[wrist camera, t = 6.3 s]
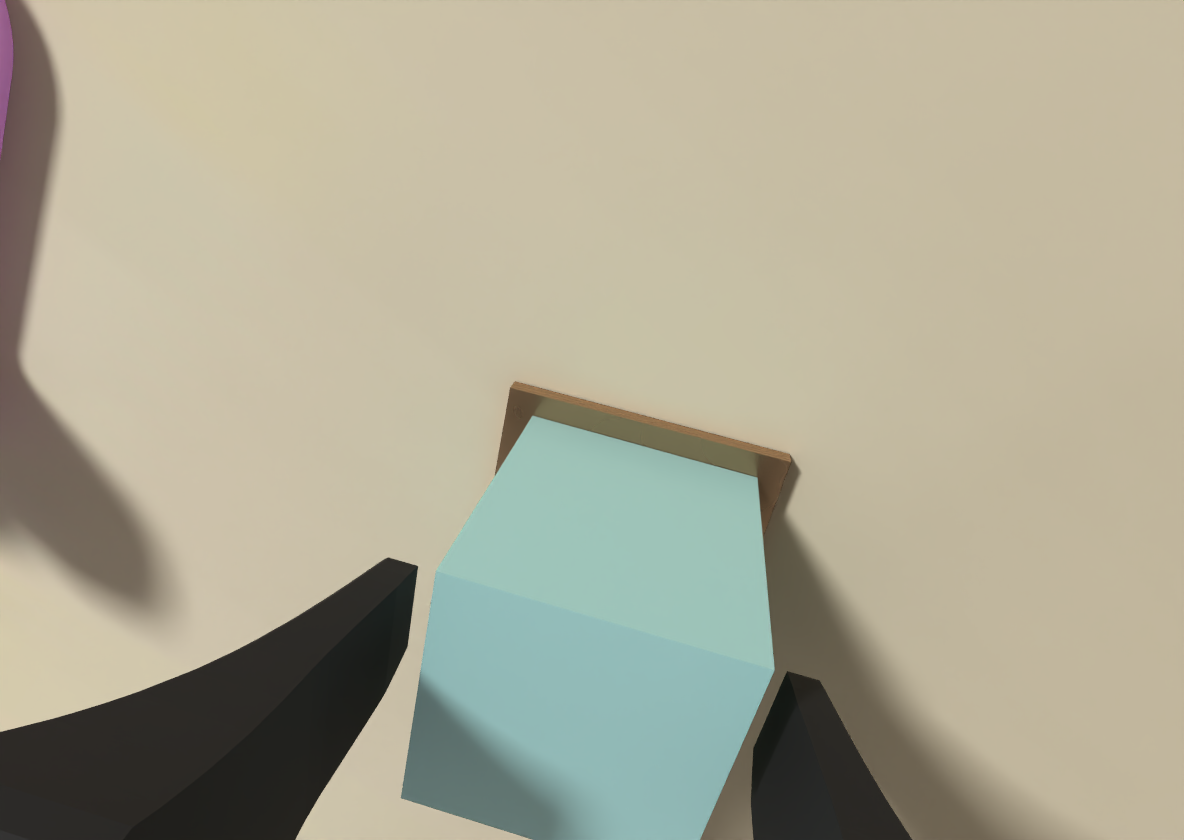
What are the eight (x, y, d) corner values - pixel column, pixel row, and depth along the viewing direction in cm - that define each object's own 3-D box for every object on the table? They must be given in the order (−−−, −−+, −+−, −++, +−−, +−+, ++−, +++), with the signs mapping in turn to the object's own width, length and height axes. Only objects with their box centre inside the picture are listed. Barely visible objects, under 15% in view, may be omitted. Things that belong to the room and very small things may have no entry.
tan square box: (710, 666, 19) (706, 817, 15) (475, 599, 19) (410, 728, 15) (789, 454, 16) (811, 568, 12) (515, 381, 16) (448, 468, 12)
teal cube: (693, 651, 18) (679, 885, 13) (496, 594, 18) (400, 797, 13) (757, 477, 16) (774, 670, 10) (532, 415, 16) (436, 570, 11)
